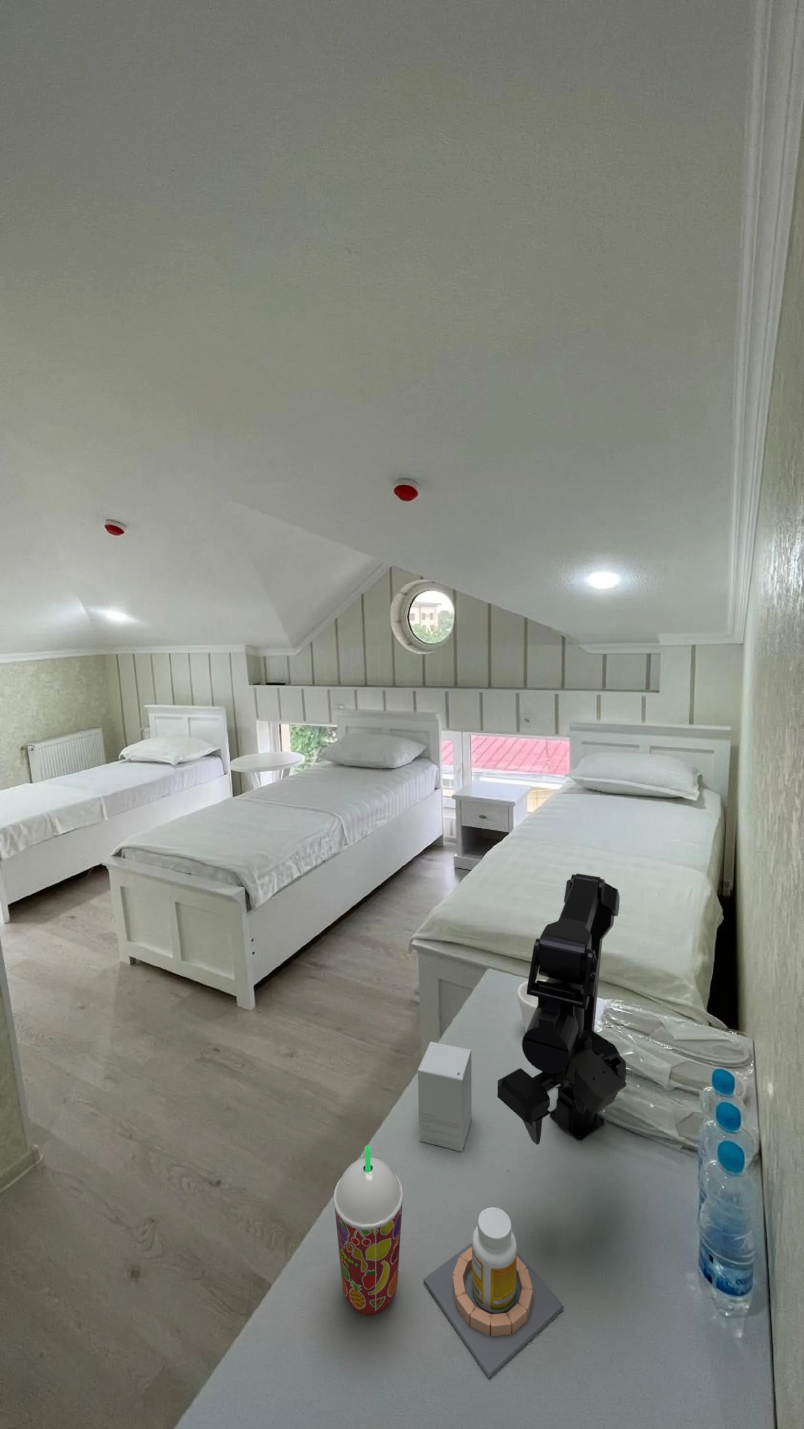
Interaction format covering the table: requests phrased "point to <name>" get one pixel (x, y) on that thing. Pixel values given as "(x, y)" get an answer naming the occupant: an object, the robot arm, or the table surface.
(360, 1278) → the smoothie
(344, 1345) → the table surface
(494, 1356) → the ring seat
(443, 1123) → the supplement box
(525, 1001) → the cup
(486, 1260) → the supplement bottle
